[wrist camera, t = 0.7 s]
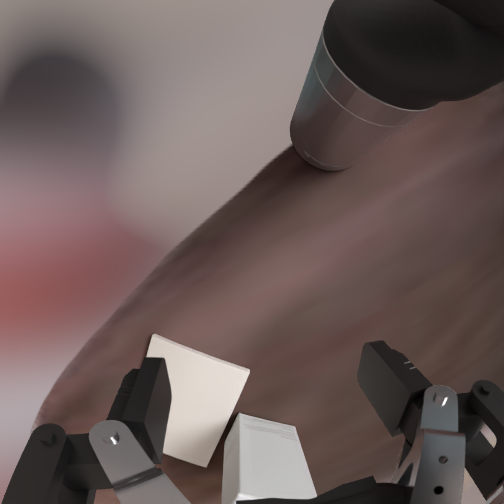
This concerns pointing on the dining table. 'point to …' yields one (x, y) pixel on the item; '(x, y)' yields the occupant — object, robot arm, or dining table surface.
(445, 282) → the dining table surface
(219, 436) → the mat
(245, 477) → the skincare box
